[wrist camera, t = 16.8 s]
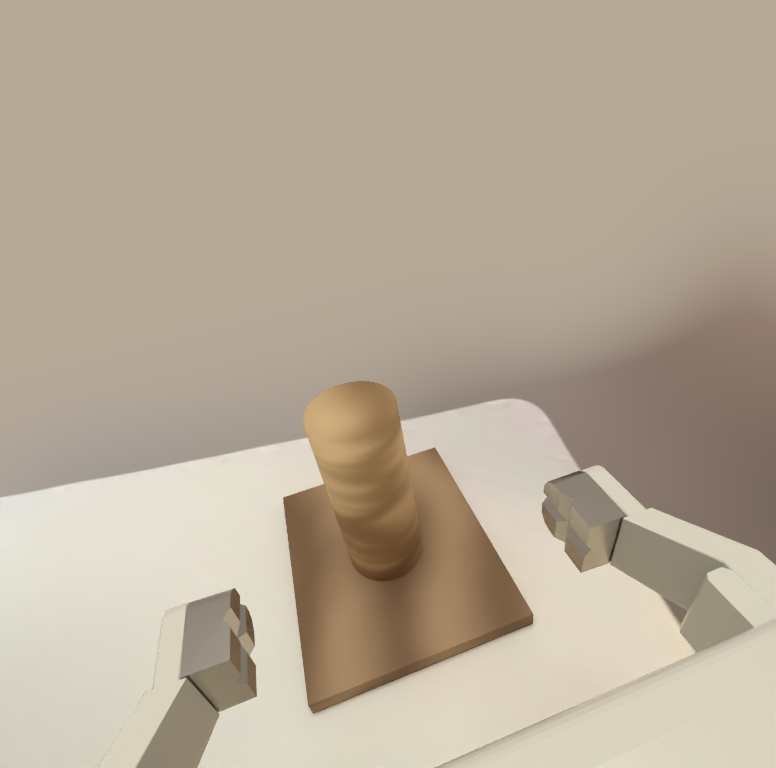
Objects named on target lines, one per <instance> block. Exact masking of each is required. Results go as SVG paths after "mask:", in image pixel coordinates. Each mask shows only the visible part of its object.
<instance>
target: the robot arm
mask: <svg viewBox="0 0 776 768" xmlns="http://www.w3.org/2000/svg"><path fill="white" fill-rule="evenodd" d="M544 493H545V494H546V496H547V498H546V499H545V500H544V502H543V503H542V514H543V518H544V521H545V523H546V525H547V527H548V529H549V530H550V532H551V533H552V535H553V536H554V537H555V538H557V539H559V540H561V541H563V542H565V552H566V554H567V555H568V556H569V558H570V559H571V560H572V562H573V563H574V564H575V566H576V567H577V568H578V570H579V571H580V572H581V573H582V572H584V571H587V570H590V569H593V568H596V567H599V566H602V565H604V564H607V563H610V562H611V563H610V564H611V565H612V566H614V567H616V568H617V569H619V570H621V571H622V572H624V573H625V574H627V575H629V576H630V577H632V578H634V579H635V580H637V581H639V582H640V583H642V584H644V585H645V586H647V587H649V588H650V589H652V590H654V591H655V592H657V593H659V594H660V595H662V596H664V597H665V598H667V599H669V600H670V601H672V602H674V603H676V604H677V605H679V606H680V607H682V608H684V609H685V610H687V611H688V612H687V614H686V616H685V618H684V620H683V622H682V624H681V627H680V633H681V634H682V635H683V637H684V638H685V639H686V640H687V641H688V643H689V644H690V645H691V646H692V647H693V649H694V650H695V651H696V652H697V653H695V654H693V655H690V656H688V657H686V658H684V659H681V660H679V661H677V662H675V663H672V664H670V665H668V666H665V667H663V668H661V669H659V670H656V671H654V672H652V673H649V674H647V675H645V676H643V677H640V678H638V679H636V680H633V681H631V682H629V683H627V684H624V685H622V686H620V687H618V688H615V689H613V690H611V691H608V692H606V693H604V694H602V695H599V696H597V697H595V698H592V699H590V700H588V701H586V702H583V703H581V704H579V705H577V706H574V707H572V708H570V709H567V710H565V711H563V712H561V713H558V714H556V715H554V716H551V717H549V718H547V719H545V720H542V721H540V722H538V723H535V724H533V725H531V726H529V727H526V728H524V729H522V730H520V731H517V732H515V733H513V734H510V735H508V736H506V737H504V738H501V739H499V740H497V741H494V742H492V743H490V744H488V745H485V746H483V747H481V748H478V749H476V750H474V751H472V752H469V753H467V754H465V755H463V756H460V757H458V758H456V759H453V760H451V761H449V762H447V763H444V764H442V765H440V766H437V767H435V768H776V565H775V564H773V563H772V562H771V561H770V560H769V559H767V558H766V557H765V556H764V555H763V554H762V553H761V552H759V551H758V550H755V549H753V548H750V547H748V546H745V545H743V544H740V543H738V542H735V541H733V540H730V539H728V538H725V537H723V536H720V535H718V534H715V533H713V532H710V531H708V530H705V529H703V528H700V527H698V526H695V525H693V524H690V523H688V522H685V521H683V520H680V519H678V518H676V517H673V516H671V515H668V514H666V513H663V512H661V511H658V510H656V509H653V508H649V509H645V508H644V507H643V506H642V505H641V504H640V503H639V502H638V501H637V500H636V499H635V498H634V497H633V496H632V495H631V494H630V493H629V492H628V491H627V490H626V489H625V488H624V487H623V486H622V485H621V484H620V483H619V482H618V481H617V480H616V479H615V478H613V477H612V476H611V475H610V474H609V473H608V472H607V471H606V470H605V469H604V468H603V467H601V466H599V465H596V466H593V467H590V468H587V469H584V470H582V471H577V472H574V473H571V474H568V475H566V476H563V477H560V478H557V479H554V480H552V481H549V482H547V483H546V484H545V485H544ZM254 646H255V640H254V630H253V624H252V619H251V616H250V613H249V611H248V609H247V607H246V606H245V605H241V604H240V595H239V594H238V592H237V591H236V589H235V588H234V589H231V590H228V591H225V592H221V593H218V594H215V595H212V596H209V597H206V598H203V599H200V600H197V601H194V602H190V603H187V604H184V605H181V606H178V607H175V608H172V609H169V610H166V612H165V614H164V616H163V619H162V624H161V631H160V639H159V646H158V653H157V660H156V667H155V674H154V682H153V689H152V690H150V691H147V692H145V694H144V695H143V697H142V698H141V700H140V701H139V703H138V705H137V706H136V708H135V709H134V711H133V713H132V714H131V716H130V717H129V719H128V720H127V722H126V724H125V725H124V727H123V728H122V730H121V732H120V733H119V735H118V736H117V738H116V739H115V741H114V743H113V744H112V746H111V747H110V749H109V751H108V752H107V754H106V755H105V757H104V758H103V760H102V762H101V763H100V765H99V766H98V768H197V767H198V764H199V762H200V760H201V757H202V755H203V752H204V750H205V748H206V745H207V743H208V741H209V738H210V736H211V733H212V731H213V729H214V726H215V724H216V722H217V719H218V717H219V713H218V712H220V711H223V710H225V709H228V708H230V707H232V706H235V705H237V704H240V703H242V702H245V701H247V700H249V699H252V698H254V697H257V692H256V665H255V664H254V662H253V661H252V659H251V658H250V654H251V652H252V650H253V648H254Z"/></svg>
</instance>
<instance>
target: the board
mask: <svg viewBox="0 0 776 768" xmlns="http://www.w3.org/2000/svg"><path fill="white" fill-rule="evenodd" d="M407 460H408V465H409V471H410V476H411V481H412V487H413V492H414V497H415V503H416V508H417V513H418V519H419V524H420V529H421V535H422V540H423V550H422V554H421V557H420V559H419V561H418V563H417V564H416V565H415V567H414V568H413V569H412V570H411V571H409V572H408V573H407V574H405V575H404V576H402V577H400V578H397V579H394V580H390V581H375V580H371V579H368V578H366V577H364V576H363V575H361V574H360V573H359V572H358V571H357V570H356V569H355V567H354V565H353V563H352V561H351V558H350V555H349V552H348V549H347V547H346V544H345V541H344V538H343V535H342V532H341V530H340V527H339V524H338V521H337V518H336V515H335V513H334V510H333V507H332V504H331V501H330V498H329V496H328V493H327V490H326V487H325V484H323V485H320V486H317V487H314V488H311V489H308V490H305V491H302V492H299V493H296V494H293V495H290V496H287V497H284V498H283V500H284V508H285V517H286V525H287V533H288V541H289V550H290V558H291V566H292V575H293V583H294V591H295V599H296V608H297V616H298V624H299V632H300V641H301V649H302V657H303V665H304V674H305V682H306V690H307V699H308V706H309V707H310V709H311V710H312V712H313V713H315V712H317V711H320V710H322V709H325V708H327V707H330V706H332V705H334V704H337V703H339V702H342V701H344V700H347V699H349V698H351V697H354V696H356V695H359V694H361V693H364V692H366V691H369V690H371V689H373V688H376V687H378V686H381V685H383V684H386V683H388V682H391V681H393V680H395V679H398V678H400V677H403V676H405V675H408V674H410V673H413V672H415V671H417V670H420V669H422V668H425V667H427V666H430V665H432V664H434V663H437V662H439V661H442V660H444V659H447V658H449V657H452V656H454V655H456V654H459V653H461V652H464V651H466V650H469V649H471V648H474V647H476V646H478V645H481V644H483V643H486V642H488V641H491V640H493V639H496V638H498V637H500V636H503V635H505V634H508V633H510V632H513V631H515V630H517V629H520V628H522V627H525V626H527V625H530V624H532V623H533V613H532V611H531V610H530V608H529V606H528V605H527V603H526V601H525V599H524V598H523V596H522V594H521V593H520V591H519V589H518V588H517V586H516V584H515V583H514V581H513V579H512V577H511V576H510V574H509V572H508V571H507V569H506V567H505V566H504V564H503V562H502V560H501V559H500V557H499V555H498V554H497V552H496V550H495V549H494V547H493V545H492V544H491V542H490V540H489V538H488V537H487V535H486V533H485V532H484V530H483V528H482V527H481V525H480V523H479V521H478V520H477V518H476V516H475V515H474V513H473V511H472V510H471V508H470V506H469V504H468V503H467V501H466V499H465V498H464V496H463V494H462V493H461V491H460V489H459V488H458V486H457V484H456V482H455V481H454V479H453V477H452V476H451V474H450V472H449V471H448V469H447V467H446V465H445V464H444V462H443V460H442V459H441V457H440V455H439V454H438V452H437V450H436V449H435V448H432V449H429V450H426V451H423V452H420V453H417V454H414V455H411V456H408V457H407Z"/></svg>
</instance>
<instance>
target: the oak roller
mask: <svg viewBox="0 0 776 768" xmlns="http://www.w3.org/2000/svg"><path fill="white" fill-rule="evenodd" d="M303 424H304V427H305V430H306V433H307V436H308V439H309V442H310V445H311V447H312V450H313V453H314V456H315V459H316V462H317V464H318V467H319V470H320V473H321V476H322V479H323V481H324V484H325V487H326V490H327V493H328V496H329V498H330V501H331V504H332V507H333V510H334V513H335V515H336V518H337V521H338V524H339V527H340V530H341V532H342V535H343V538H344V541H345V544H346V547H347V549H348V552H349V555H350V558H351V561H352V563H353V565H354V567H355V569H356V570H357V571H358V572H359V573H360V574H361V575H363V576H364V577H366V578H368V579H371V580H375V581H390V580H394V579H397V578H400V577H402V576H404V575H405V574H407V573H408V572H409V571H411V570H412V569H413V568H414V567H415V565H416V564H417V563H418V561H419V559H420V557H421V554H422V550H423V540H422V535H421V529H420V524H419V519H418V513H417V508H416V503H415V497H414V492H413V487H412V481H411V476H410V471H409V465H408V460H407V455H406V449H405V444H404V439H403V433H402V428H401V423H400V417H399V412H398V407H397V401H396V398H395V395H394V394H393V392H392V391H391V390H390V389H388V388H387V387H385V386H383V385H381V384H378V383H374V382H367V381H365V382H364V381H358V382H349V383H345V384H341V385H338V386H335V387H332V388H330V389H328V390H326V391H324V392H323V393H321V394H320V395H318V396H317V397H316V398H314V399H313V400H312V401H311V402H310V403H309V405H308V406H307V408H306V409H305V412H304V414H303Z"/></svg>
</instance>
